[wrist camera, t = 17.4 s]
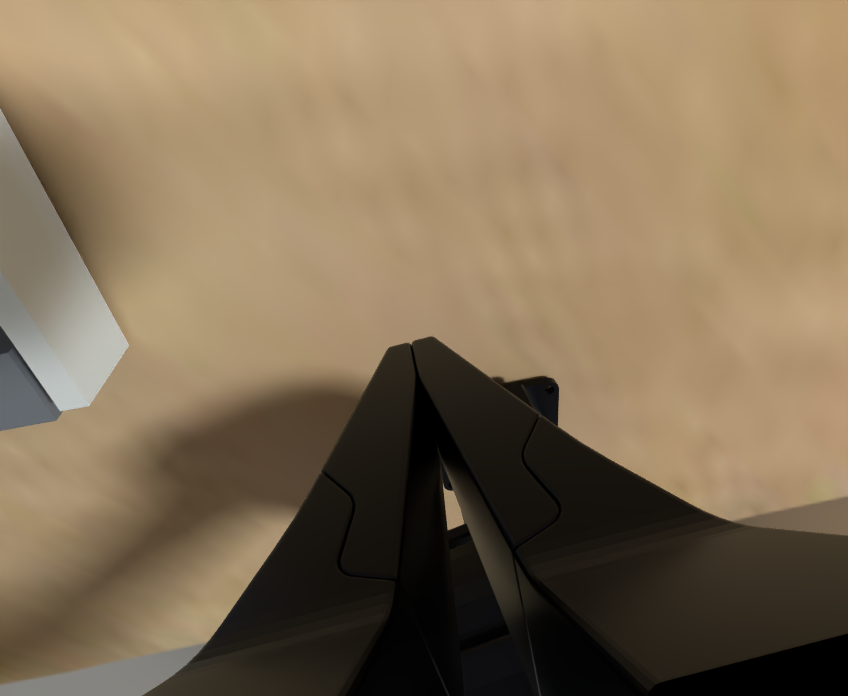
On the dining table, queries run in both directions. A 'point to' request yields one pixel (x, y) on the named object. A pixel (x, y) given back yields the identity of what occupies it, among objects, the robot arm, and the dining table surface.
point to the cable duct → (21, 391)
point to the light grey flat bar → (50, 289)
